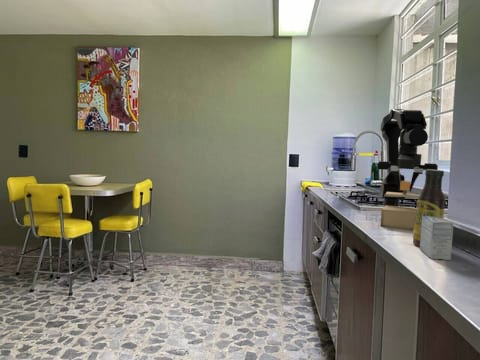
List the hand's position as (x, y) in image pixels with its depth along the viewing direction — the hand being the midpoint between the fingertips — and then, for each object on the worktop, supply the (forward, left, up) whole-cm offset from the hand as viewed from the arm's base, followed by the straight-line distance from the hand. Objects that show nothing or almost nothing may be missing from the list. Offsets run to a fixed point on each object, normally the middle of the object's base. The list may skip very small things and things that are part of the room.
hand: (404, 191), depth 122 cm
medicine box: (+42, +9, -11) cm, 44 cm away
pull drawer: (0, 0, -2) cm, 2 cm away
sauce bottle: (+34, +7, -11) cm, 36 cm away
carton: (+6, 0, -11) cm, 12 cm away
